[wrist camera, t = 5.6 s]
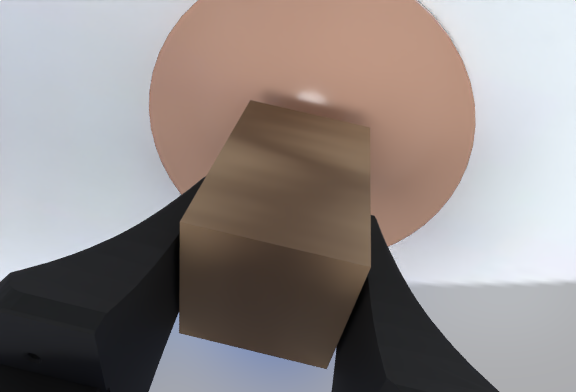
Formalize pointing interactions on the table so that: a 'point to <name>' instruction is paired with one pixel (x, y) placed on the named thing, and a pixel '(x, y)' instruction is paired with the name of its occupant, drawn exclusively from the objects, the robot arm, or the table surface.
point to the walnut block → (279, 236)
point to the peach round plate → (322, 91)
